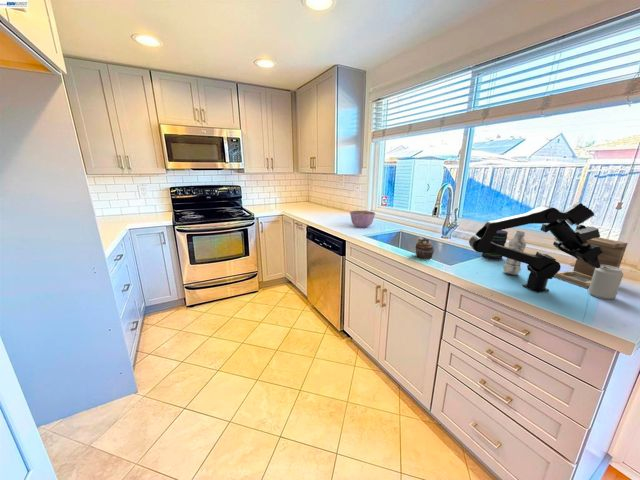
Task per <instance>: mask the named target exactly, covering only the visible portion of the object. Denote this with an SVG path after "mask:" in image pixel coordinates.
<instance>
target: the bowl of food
mask: <svg viewBox="0 0 640 480" xmlns="http://www.w3.org/2000/svg"><path fill="white" fill-rule="evenodd" d="M349 214H350V220H351V223H352V224H353V225H354V226H355V227H357V228H360V229H363V228H365V229H366V228H368V227H369V226H371V225H372V224H373V223H374V219H375V215H376V212H374V211H369V210H351V211H349Z"/></svg>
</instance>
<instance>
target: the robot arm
mask: <svg viewBox="0 0 640 480" xmlns="http://www.w3.org/2000/svg"><path fill="white" fill-rule="evenodd" d="M593 216H595V213H594V211H593V210H592V209H590V208H588V207H587V206H586V205H584V204H583V203H582V202H576V203H574V204H573V205H572V206H570V207H569V208H567V209H566V210H564V211H563V210H559V209H558V208H556V207H553V206H552V207H551V206H547V205H541V206H538V207H536V208H533V209H531V210H529V211H528V212H525V213H520V214H516V215H512V216H511V215H510V216H506V217H504V218H500V219H495V220H488V221H487V222H485V224H484V225H483V227H481V228H480V229H479V230H477V232H476V233H475V234H474V235H473V236H471V237H470V238H469V241H468V244H469V246H470V247H471V249H473V250H474V251H475V252H476V253H481V254H482V253H486V254H497V255H500V256H503V257H502V258H506V259H507V258H509V259H513V260H516V261H519V262H521V263H522V264H526V265H527V266H526V268H527V271H529V274H528V278H527V283H525V284H522V287H523V288H525V289H529V290H531V291H533V292H535V293H546V292H550V289H549V288H547V285H548V281H549V280H552V279H553V278H555V277H554V275H555V274H556V273H558V272H560V270H561V263H560V262H559V261H557V259H556V258H554V257H553V256H551V255H550V254H547V253H541V252H539V251H536V253H535V254H531V253H526V252H525V251H523V252H521V251H518V250H514V249H511V248H509V246H501V245H498V244H495V243H493V242H491V241H492V240H493V238H494V235H495V233H496V232H497V231H499V230H503V231H504V230H506V229H507V230H508V229H512V228H517V227H521V226H525V225H530V224H531V225H532V224H534V225H535V224H541V228H540V231H541V232H544V233H547V232H550V233H551V234H552V236H554V241H553V243H552V245H553V247H555V248H556V249H558V250H559V251H561V252H563V253H565V254H567V255H570V256H571V257H574V258H575V259H576V260H577V259H579V260H582V261H584V262H586V263H588V264H590V265H592V266H593V267H595V268H600V267H601V266H600V263H599V260H598V255H600V254H601V253H603V250H602V249H601V247H599V246H596V245H593V244H589V245H587V246H585V245H583V244H585V243H587V242H588V241H587V240H589V239H593V238H601V235H600V234H601V233H600V231H599V228H598V227H594V226H588V225H586V226H585V225H584V224H583V223H584V222H586V221H588V220H589V219H591V218H592V217H593ZM571 226H576V228H575V229H573V228H572V227H571Z"/></svg>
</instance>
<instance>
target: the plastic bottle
mask: <svg viewBox="0 0 640 480" xmlns="http://www.w3.org/2000/svg"><path fill="white" fill-rule="evenodd" d="M526 247H527V242H526V240H525V231H520V230H516V231H515V232H514V234H513V237H512V238H511V239H510V240H509V242H508V248H511V249H514V250H518V251H521V252H525V249H526ZM521 263H522V262H519V261H516V260H513V259H509V258H506V259H505V262H504V264H503V268H502V270H503V272H504V273H505V274H507V275H512V276H513V275H514V276H517V275H519V274H520V272H521Z"/></svg>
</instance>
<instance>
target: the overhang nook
mask: <svg viewBox="0 0 640 480" xmlns="http://www.w3.org/2000/svg"><path fill="white" fill-rule="evenodd" d="M587 241H588V242H587V243H585V244H583V245H585V246H587V245H589V244H593V245H596V246H599V247H601V249H602V250H603V253H601V254H600V255H598V260H599V263H600V265H609V266H614V267H618V268H620V267H621V264H622V261H623V258H624V255H625V252H626V249H627V246H628V242H624V241H618V240H614V239H610V238H609V239H608V238H604V237H599V238H593V239H589V240H587ZM594 271H595V267H593V266H592V265H590V264H588V263H586V262H584V261H582V260H579V259H577V258H576V260H575V264H574V267H573V269H572V270H569V271H558V272H557V273H556V274H555V275H554V277H553V278H555V279H558V280H560V281H563V282H566V283H569V284H571V285H575V286H577V287H580V288H583V289H589V286H590V283H591V280H592V277H593V274H594Z"/></svg>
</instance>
